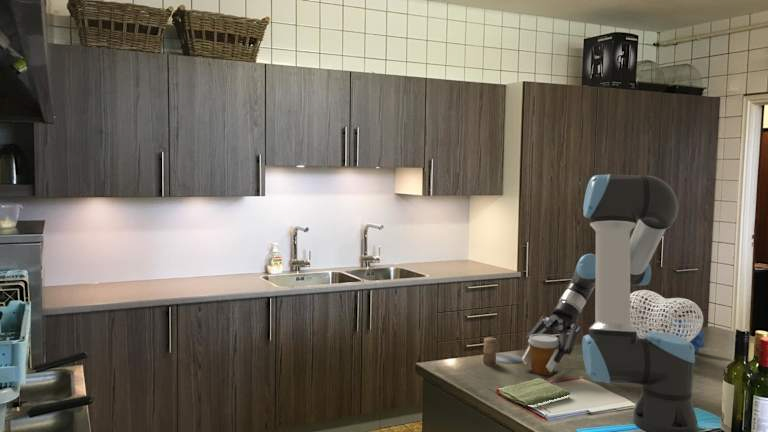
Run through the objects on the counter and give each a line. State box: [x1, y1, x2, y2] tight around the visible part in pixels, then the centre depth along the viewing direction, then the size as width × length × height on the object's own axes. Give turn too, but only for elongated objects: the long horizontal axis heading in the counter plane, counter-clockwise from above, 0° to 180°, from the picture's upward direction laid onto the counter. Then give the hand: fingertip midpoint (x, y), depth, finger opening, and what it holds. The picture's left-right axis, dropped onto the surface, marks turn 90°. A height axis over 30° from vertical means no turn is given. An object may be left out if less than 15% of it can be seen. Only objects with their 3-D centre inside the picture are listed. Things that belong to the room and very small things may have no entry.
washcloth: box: [497, 377, 571, 407], centre depth 186 cm, size 13×18×3 cm
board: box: [481, 353, 525, 367], centre depth 215 cm, size 20×12×1 cm, turn 140°
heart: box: [630, 289, 704, 342], centre depth 226 cm, size 28×16×22 cm, turn 29°
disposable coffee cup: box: [527, 334, 559, 379], centre depth 204 cm, size 10×10×12 cm
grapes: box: [672, 319, 706, 354], centre depth 234 cm, size 12×7×12 cm, turn 45°
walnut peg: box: [482, 336, 498, 366], centre depth 211 cm, size 4×4×8 cm
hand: (536, 365), depth 202 cm, fingers closed on disposable coffee cup, 8 cm apart
